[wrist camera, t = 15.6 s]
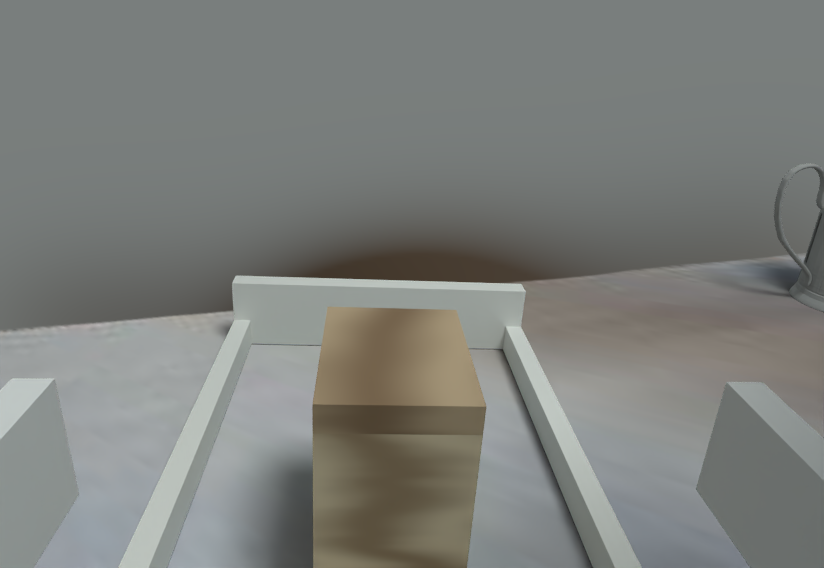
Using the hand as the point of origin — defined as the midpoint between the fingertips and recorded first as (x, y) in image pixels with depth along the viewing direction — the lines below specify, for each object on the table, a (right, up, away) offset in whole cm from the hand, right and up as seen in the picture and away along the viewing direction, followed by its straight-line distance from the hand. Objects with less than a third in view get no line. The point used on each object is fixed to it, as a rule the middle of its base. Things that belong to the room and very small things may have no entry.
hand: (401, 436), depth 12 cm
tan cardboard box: (-1, -10, +17) cm, 19 cm away
